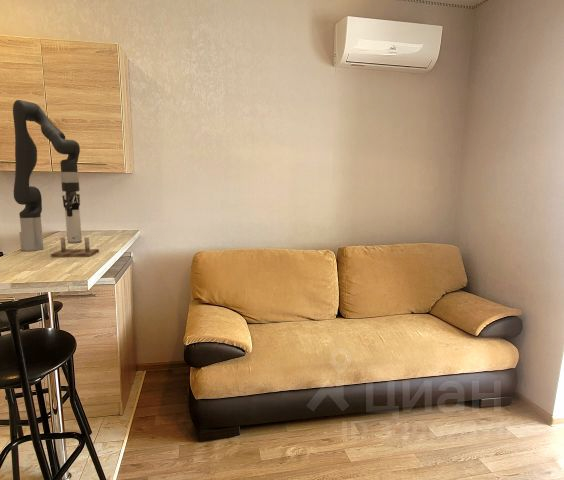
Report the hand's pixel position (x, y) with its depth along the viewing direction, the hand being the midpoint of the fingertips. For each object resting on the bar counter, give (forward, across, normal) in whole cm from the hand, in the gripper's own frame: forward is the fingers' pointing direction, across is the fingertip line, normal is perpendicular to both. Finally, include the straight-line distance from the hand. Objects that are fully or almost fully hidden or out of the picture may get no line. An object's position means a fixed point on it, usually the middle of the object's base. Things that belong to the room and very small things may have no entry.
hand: (72, 215), depth 185 cm
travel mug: (+14, 0, 0) cm, 14 cm away
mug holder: (+20, 0, 0) cm, 20 cm away
